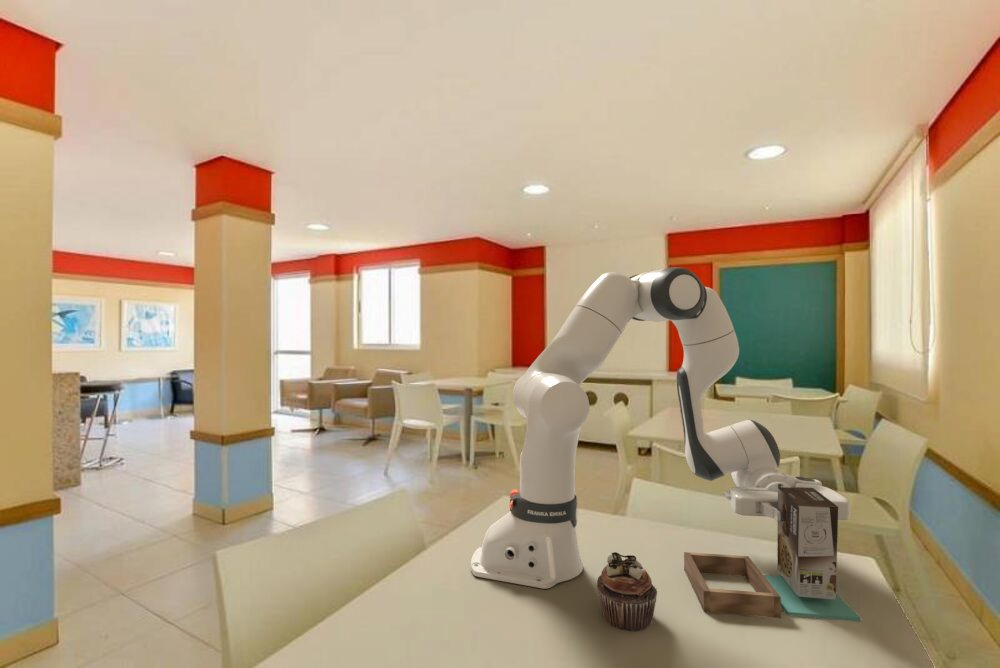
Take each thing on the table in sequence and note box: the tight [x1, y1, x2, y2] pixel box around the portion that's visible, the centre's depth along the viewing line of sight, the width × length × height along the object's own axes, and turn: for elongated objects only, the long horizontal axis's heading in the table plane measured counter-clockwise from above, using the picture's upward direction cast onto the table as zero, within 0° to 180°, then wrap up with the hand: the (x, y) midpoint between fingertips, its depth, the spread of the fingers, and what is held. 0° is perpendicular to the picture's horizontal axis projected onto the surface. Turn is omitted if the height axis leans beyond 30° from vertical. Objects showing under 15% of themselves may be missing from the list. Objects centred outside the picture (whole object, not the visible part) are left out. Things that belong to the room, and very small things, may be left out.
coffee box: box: [776, 487, 839, 599], centre depth 87 cm, size 9×6×16 cm
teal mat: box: [763, 574, 862, 622], centre depth 86 cm, size 11×13×1 cm
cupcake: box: [596, 551, 658, 632], centre depth 80 cm, size 10×10×10 cm
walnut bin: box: [683, 551, 782, 619], centre depth 88 cm, size 12×15×4 cm
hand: (805, 518), depth 87 cm, fingers closed on coffee box, 6 cm apart
